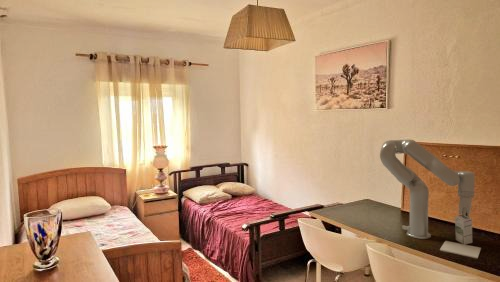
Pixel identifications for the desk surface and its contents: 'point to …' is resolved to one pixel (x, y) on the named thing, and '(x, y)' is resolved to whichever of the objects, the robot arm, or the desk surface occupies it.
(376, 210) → the desk surface
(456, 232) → the syrup box
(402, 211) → the desk surface
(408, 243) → the desk surface
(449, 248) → the mat
